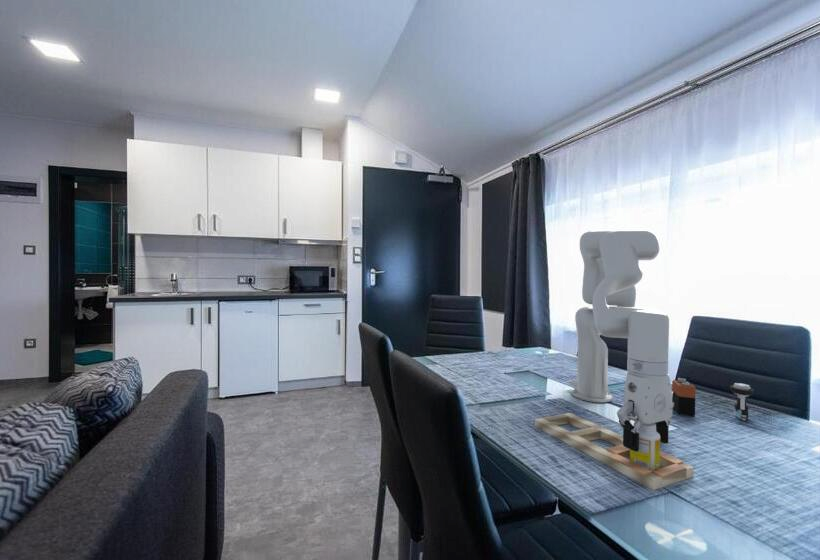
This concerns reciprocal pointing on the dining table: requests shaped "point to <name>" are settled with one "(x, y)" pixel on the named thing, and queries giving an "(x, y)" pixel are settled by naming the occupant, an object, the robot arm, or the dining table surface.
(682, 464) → the rack
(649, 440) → the supplement bottle
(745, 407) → the push button
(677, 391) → the battery
